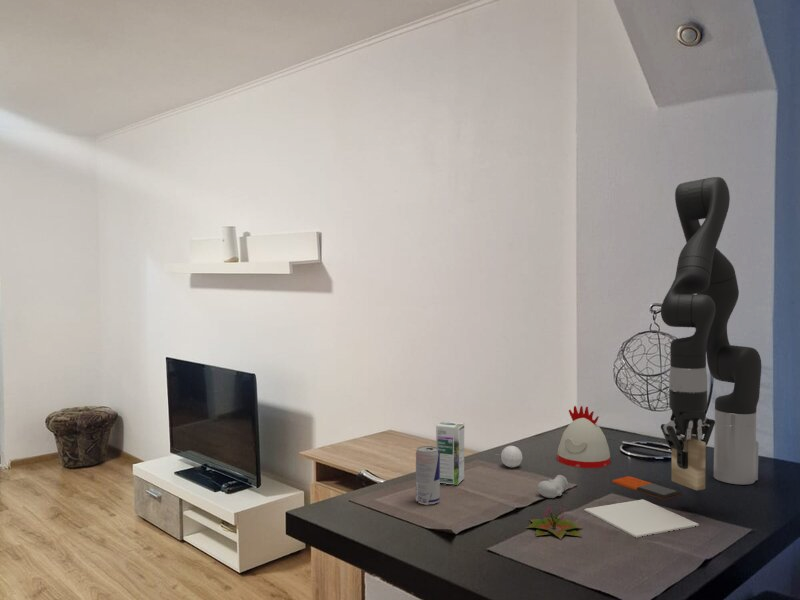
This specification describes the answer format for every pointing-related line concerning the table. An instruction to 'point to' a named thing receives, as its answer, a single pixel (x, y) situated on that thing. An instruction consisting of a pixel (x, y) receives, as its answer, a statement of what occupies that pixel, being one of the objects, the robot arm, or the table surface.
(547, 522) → the lily flower
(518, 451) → the seamed sphere
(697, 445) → the slab
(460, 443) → the syrup box
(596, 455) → the kitchen timer
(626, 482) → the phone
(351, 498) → the table surface
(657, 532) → the mat
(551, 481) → the smooth white sculpture
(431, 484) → the energy drink
